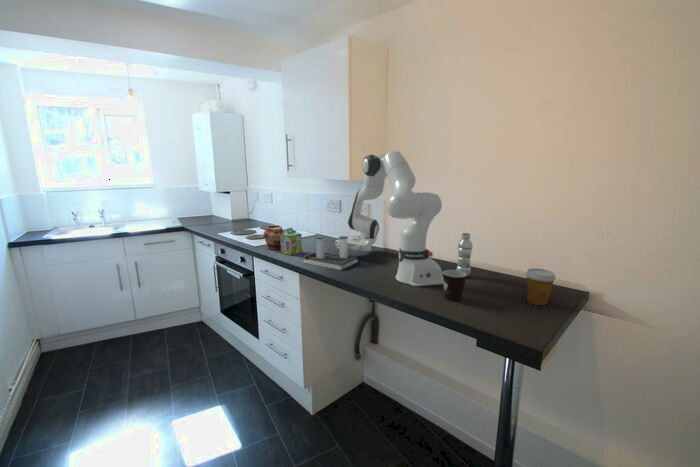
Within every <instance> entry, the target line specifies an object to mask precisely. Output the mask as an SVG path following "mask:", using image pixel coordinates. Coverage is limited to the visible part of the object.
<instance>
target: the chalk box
mask: <svg viewBox="0 0 700 467" xmlns="http://www.w3.org/2000/svg"><path fill="white" fill-rule="evenodd" d="M302 238H303V237H302V233H299V232H294V229H293V227H288V228H286V232H284V234H280V240H281V249H280V254H283V255H284V254H285V255H289V256H294V255H298V254H300V253H303V249H302V248H303V246H302V245H303V243H302V242H303V241H302V240H303V239H302Z"/></svg>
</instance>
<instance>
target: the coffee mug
mask: <svg viewBox="0 0 700 467" xmlns="http://www.w3.org/2000/svg"><path fill="white" fill-rule="evenodd" d="M442 274H443V284H442V285H443V298H444V299H445V300H447V301H449V302H460V301H461V300H462V299H463V298H462V297H463V294H464V288H465V283H466V280H467V277H466V273H464V272H462V271H458V270H456V269H447V270H442Z"/></svg>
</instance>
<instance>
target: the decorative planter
mask: <svg viewBox="0 0 700 467" xmlns="http://www.w3.org/2000/svg"><path fill="white" fill-rule="evenodd" d="M284 233H285V231H284V229H283V227H282V226H281V225H276V224H275V225H267V226H265V230H264V232H263V237H264V238H263V239H264V240H265V243H266V246H267V248H268V249H270V250H281V240H280V234H284Z"/></svg>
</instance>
